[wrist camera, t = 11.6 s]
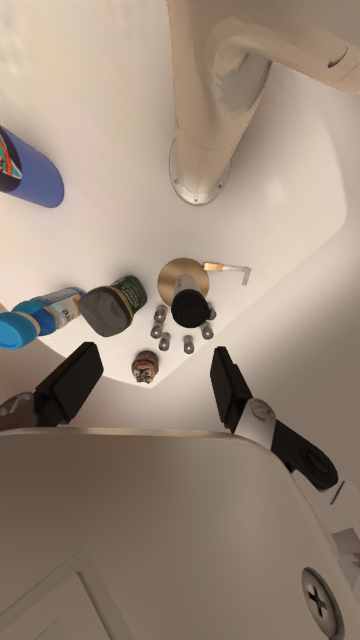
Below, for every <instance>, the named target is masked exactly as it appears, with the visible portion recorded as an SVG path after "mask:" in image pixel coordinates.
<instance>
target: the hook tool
mask: <svg viewBox="0 0 360 640" xmlns="http://www.w3.org/2000/svg"><path fill="white" fill-rule="evenodd" d="M203 269H204V270H214V271H222V270H232V271H243V272H246V273H245V276H244V280H243V283H242V285H247V282H248V279H249V275H250V272H251V268H241V267H230V266H223V265H222V264H212V263H204V265H203Z"/></svg>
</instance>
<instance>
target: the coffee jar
mask: <svg viewBox="0 0 360 640" xmlns="http://www.w3.org/2000/svg"><path fill="white" fill-rule="evenodd" d="M146 302H147V296H146V293H145V291H144V289H143V287H142V285H141V283H140V282H139V280H138V279H137V278H136V277H134V276H126V277H123V278H120V279H118V280H117V281H115V282H114V283H112V284H111V285H110V286H101V287H97V288H94V289H92V290H91V291H89V292H88V293H87V294H85V295H84V296H82V297H81V298H80V299H79V300H78V303H77V305H78V309H79V311H80V312H81V314H82V315H83V317H84V318H85V319H86V321H87V322H88V323H89V325H90V326H91V327H92V328H93V329H94V331H95V332H96V333H98V334H99V335H101V336H103V337H110V336H113V335H116V334H119V333H121V332H122V331H124V330H125V329H126V328H127V327H129V326H130V325H131V323H132V321H133V316H134V314H135V313H136V312H137V311H138V310H139V309H140V308H142V307H143V306H144V305H145V303H146Z"/></svg>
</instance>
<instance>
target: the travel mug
mask: <svg viewBox="0 0 360 640" xmlns="http://www.w3.org/2000/svg"><path fill="white" fill-rule="evenodd" d="M211 312H212V309H211V308H210V310H209V306H208V304H207V302H206V300H205V297H204V295H203V294H202V292H201V290H200V288H199V286H198V285H197V283H196V281H195V279H194V278H193V277H192V276H190V275H182V276H180V277H178V278H177V280H176V282H175V287H174V293H173V299H172V307H171V313H172V316H173V319H174V320H175V322H176V323H177V324H179V325H180V326H182V327H185V328H196V327H199V326H200V325H202V324H203V323H204V322H205V321H206V320H207V319H208V320H209V319H210V317H211Z"/></svg>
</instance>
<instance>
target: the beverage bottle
mask: <svg viewBox="0 0 360 640" xmlns="http://www.w3.org/2000/svg"><path fill="white" fill-rule="evenodd" d="M85 294H86V293H85V292H84V291H82V290H80V289H78V288H74V287H70V288H66V289H63V290H60V291H57V292H54V293H50V294H47V295H44V296H38V297H35V298H32V299H30V300H29V301H24V302H21V303H19V304H18V305H16V306H15V307H14V308H13V309H12V311H11V312H4V313H1V314H0V347H1V348H3V349H9V350H15V349H19V348H21V347H23V346H25V345H27V344H28V343H30V342H31V341H33V340H34V339H35V338H36V337H37V336H45V335H49V334H51V333H53V332H55V331H56V330H58V329H60V328H62V327H64V326H65V325H66V324H67V323H68V322H70V321H71V320H73V319H75V318H76V317H78V316H79V315H81V312H80V311H79V309H78V305H77V303H78V300H79V299H80V298H81V297H82V296H84V295H85Z"/></svg>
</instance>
